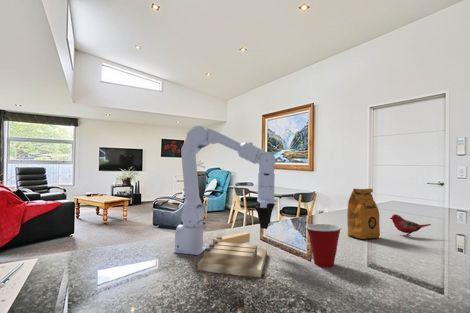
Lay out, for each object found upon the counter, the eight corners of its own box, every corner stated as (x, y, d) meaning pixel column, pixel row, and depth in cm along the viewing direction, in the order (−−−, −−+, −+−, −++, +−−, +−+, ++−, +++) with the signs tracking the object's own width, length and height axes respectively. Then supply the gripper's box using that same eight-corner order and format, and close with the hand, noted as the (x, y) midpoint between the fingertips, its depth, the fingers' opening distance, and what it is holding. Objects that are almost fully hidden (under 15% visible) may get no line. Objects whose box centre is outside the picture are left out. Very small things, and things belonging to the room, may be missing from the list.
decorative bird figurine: (388, 234, 117) (388, 213, 117) (429, 237, 114) (429, 215, 115) (391, 236, 114) (391, 214, 114) (433, 238, 111) (433, 216, 112)
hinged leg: (218, 249, 83) (218, 239, 83) (212, 247, 85) (213, 237, 85) (249, 241, 93) (249, 232, 93) (244, 239, 95) (244, 230, 95)
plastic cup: (315, 255, 86) (315, 220, 86) (347, 264, 78) (347, 225, 79) (298, 263, 78) (299, 224, 79) (332, 274, 70) (332, 231, 71)
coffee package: (384, 239, 108) (383, 189, 109) (361, 241, 105) (360, 189, 106) (365, 233, 118) (365, 187, 119) (344, 235, 114) (344, 187, 115)
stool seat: (197, 270, 71) (198, 251, 71) (216, 249, 89) (217, 234, 90) (260, 277, 67) (260, 257, 67) (266, 254, 85) (267, 238, 86)
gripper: (276, 188, 78) (275, 231, 78) (278, 185, 92) (278, 222, 92) (254, 187, 80) (253, 230, 79) (260, 185, 94) (259, 221, 93)
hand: (265, 226), depth 86 cm, fingers open, 7 cm apart
